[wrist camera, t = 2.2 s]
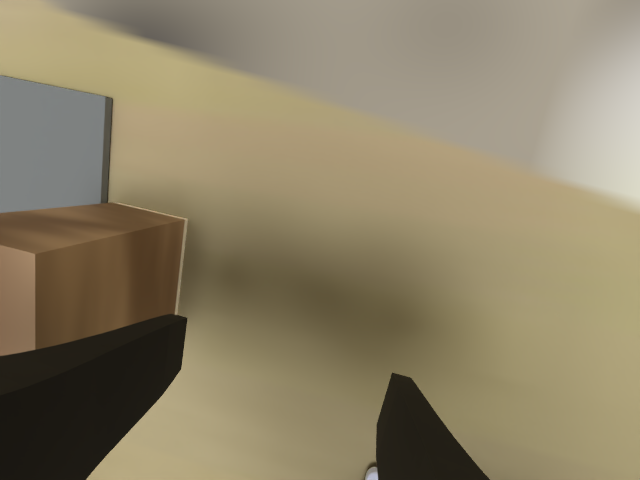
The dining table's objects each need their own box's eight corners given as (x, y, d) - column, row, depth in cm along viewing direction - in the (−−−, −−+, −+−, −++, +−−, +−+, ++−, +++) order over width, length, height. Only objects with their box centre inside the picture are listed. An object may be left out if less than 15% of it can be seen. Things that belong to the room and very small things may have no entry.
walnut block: (188, 219, 16) (34, 254, 8) (176, 324, 17) (35, 434, 10) (116, 202, 16) (-91, 221, 9) (110, 306, 17) (-74, 400, 10)
